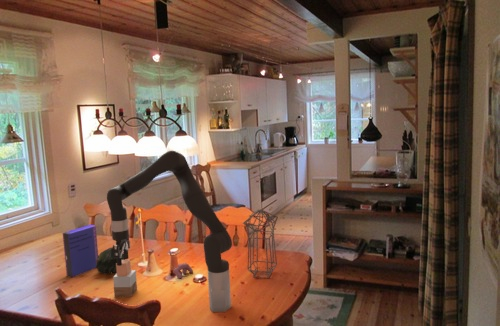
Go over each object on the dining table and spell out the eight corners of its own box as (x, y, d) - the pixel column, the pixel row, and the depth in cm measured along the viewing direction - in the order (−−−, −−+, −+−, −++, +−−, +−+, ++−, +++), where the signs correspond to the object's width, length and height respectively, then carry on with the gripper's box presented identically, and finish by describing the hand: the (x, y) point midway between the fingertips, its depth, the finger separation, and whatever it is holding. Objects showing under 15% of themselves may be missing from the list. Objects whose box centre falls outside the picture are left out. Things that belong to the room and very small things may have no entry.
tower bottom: (131, 297, 192) (130, 287, 191) (114, 297, 193) (113, 287, 192) (137, 290, 200) (136, 280, 199) (121, 290, 201) (120, 280, 200)
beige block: (127, 275, 192) (126, 263, 192) (117, 275, 193) (116, 263, 192) (131, 271, 197) (130, 259, 197) (120, 271, 198) (120, 259, 197)
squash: (96, 258, 230) (95, 244, 220) (124, 255, 236) (124, 241, 225) (97, 282, 222) (96, 268, 211) (125, 278, 227) (126, 264, 216)
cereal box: (93, 265, 236) (90, 224, 233) (99, 266, 234) (95, 225, 231) (66, 275, 222) (62, 232, 219) (72, 277, 219) (68, 233, 216)
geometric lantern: (280, 270, 217) (278, 206, 211) (273, 283, 202) (271, 214, 196) (251, 268, 221) (249, 205, 216) (243, 280, 206) (240, 213, 201)
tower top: (130, 287, 192) (129, 276, 191) (113, 287, 192) (113, 277, 192) (136, 280, 199) (135, 270, 199) (120, 280, 200) (119, 270, 200)
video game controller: (189, 274, 221) (184, 262, 222) (194, 272, 218) (189, 259, 219) (175, 280, 213) (170, 268, 214) (180, 278, 210) (175, 265, 211)
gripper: (122, 233, 185) (125, 267, 187) (133, 224, 199) (135, 256, 201) (106, 233, 186) (109, 267, 188) (118, 224, 200) (120, 257, 202)
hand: (122, 262), depth 194 cm, fingers open, 8 cm apart
